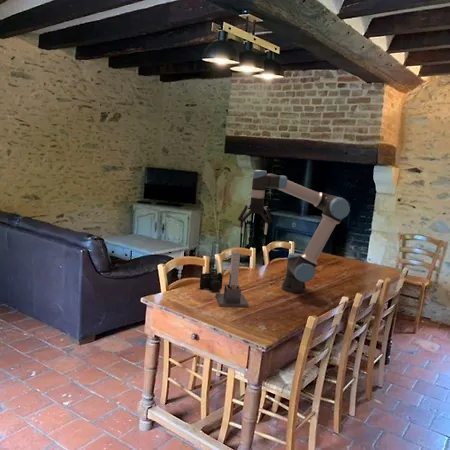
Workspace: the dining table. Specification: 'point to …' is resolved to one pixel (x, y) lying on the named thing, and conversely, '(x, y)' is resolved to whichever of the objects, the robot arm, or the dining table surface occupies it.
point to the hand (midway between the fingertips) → (253, 233)
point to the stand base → (232, 297)
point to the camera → (211, 281)
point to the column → (234, 269)
